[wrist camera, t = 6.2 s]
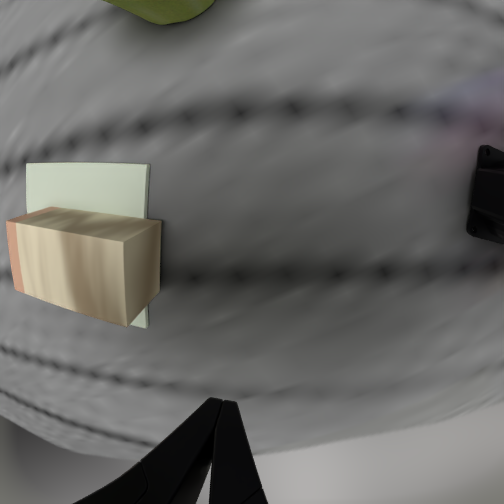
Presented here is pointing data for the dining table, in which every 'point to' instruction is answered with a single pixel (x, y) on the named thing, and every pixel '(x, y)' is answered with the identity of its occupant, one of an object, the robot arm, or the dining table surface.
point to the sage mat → (91, 192)
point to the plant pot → (164, 9)
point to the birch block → (87, 261)
